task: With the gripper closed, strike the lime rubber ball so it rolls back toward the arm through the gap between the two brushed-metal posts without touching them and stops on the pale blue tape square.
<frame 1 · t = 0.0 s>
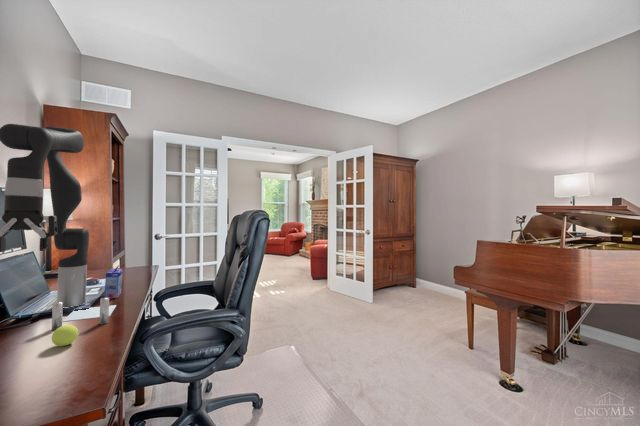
hand: (22, 251, 79), 29 cm above the table, tool pointing down, fingers open, 8 cm apart
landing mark: (91, 312, 111), on the table
ink cartridge box: (113, 296, 133), on the table
ball: (65, 335, 84), on the table
post 1: (56, 328, 95), on the table
post 2: (103, 322, 101), on the table
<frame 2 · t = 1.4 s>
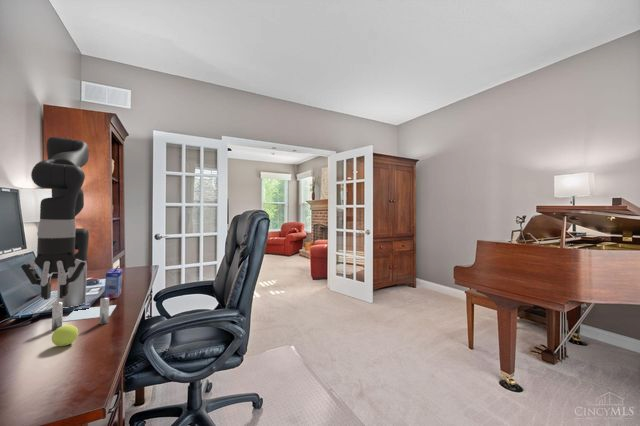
hand: (54, 297, 76), 17 cm above the table, tool pointing down, fingers closed
nothing on the table moved.
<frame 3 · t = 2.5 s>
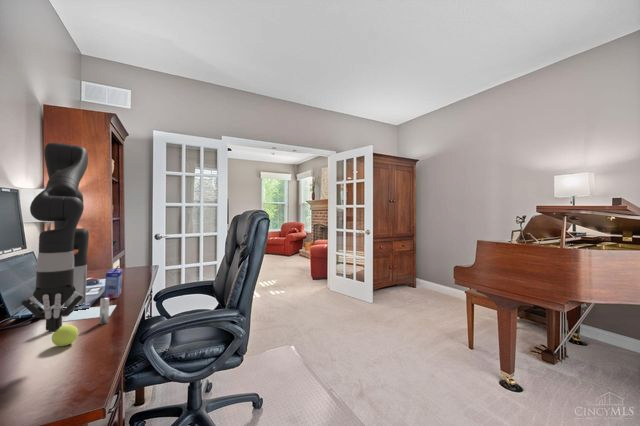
hand: (53, 330, 75), 8 cm above the table, tool pointing down, fingers closed
nothing on the table moved.
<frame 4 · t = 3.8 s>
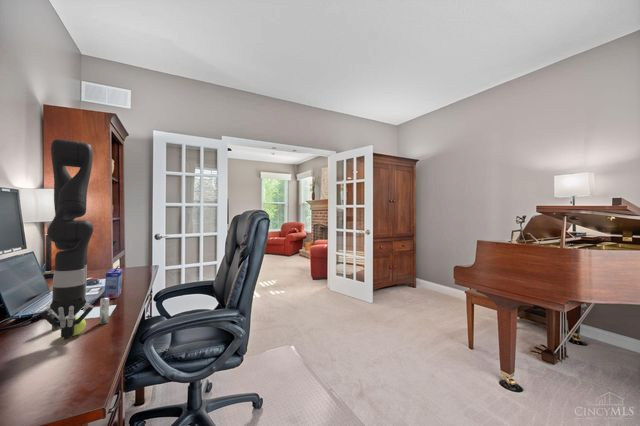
hand: (67, 337, 86), 1 cm above the table, tool pointing down, fingers closed
ball: (73, 326, 91), on the table
everything else where it was.
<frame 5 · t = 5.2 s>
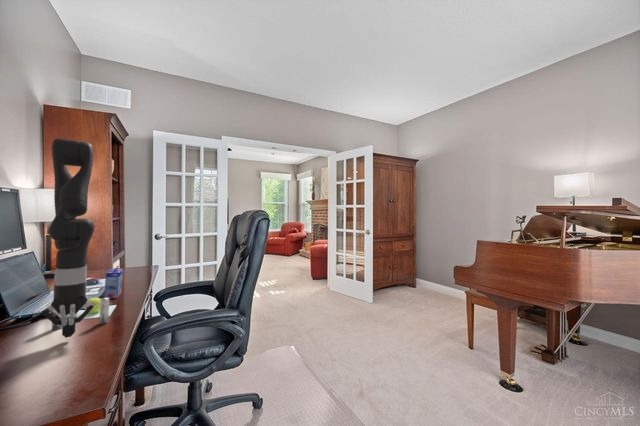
hand: (68, 336, 87), 2 cm above the table, tool pointing down, fingers closed
ball: (93, 305, 111), on the table
everything else where it was.
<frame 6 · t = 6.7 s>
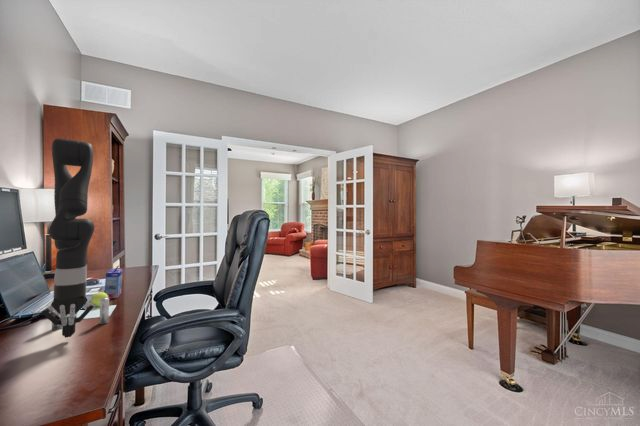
hand: (68, 336, 87), 2 cm above the table, tool pointing down, fingers closed
ball: (99, 299, 118), on the table
everything else where it was.
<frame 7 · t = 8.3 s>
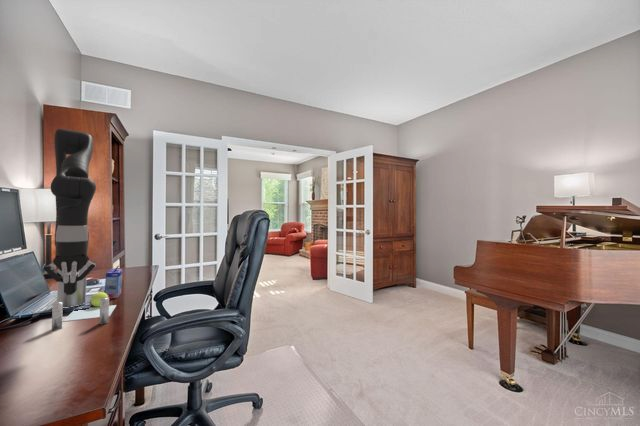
hand: (70, 294, 87), 15 cm above the table, tool pointing down, fingers closed
nothing on the table moved.
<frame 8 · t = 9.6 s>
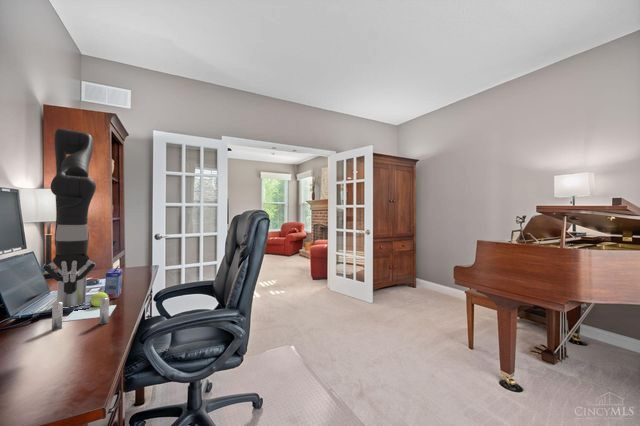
hand: (70, 293, 87), 15 cm above the table, tool pointing down, fingers closed
nothing on the table moved.
at the end: ball 8.4 cm from the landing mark (horizontally); ball never touched post 2; ball never touched post 1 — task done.
